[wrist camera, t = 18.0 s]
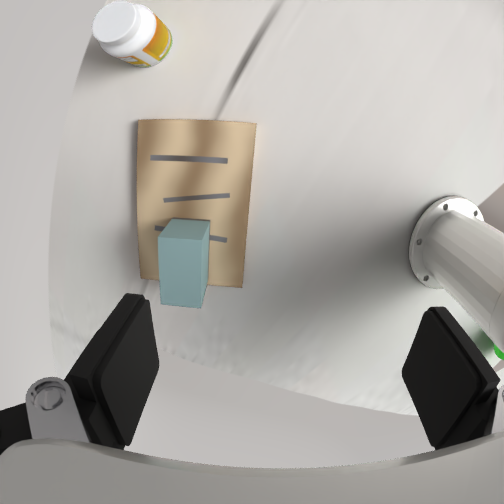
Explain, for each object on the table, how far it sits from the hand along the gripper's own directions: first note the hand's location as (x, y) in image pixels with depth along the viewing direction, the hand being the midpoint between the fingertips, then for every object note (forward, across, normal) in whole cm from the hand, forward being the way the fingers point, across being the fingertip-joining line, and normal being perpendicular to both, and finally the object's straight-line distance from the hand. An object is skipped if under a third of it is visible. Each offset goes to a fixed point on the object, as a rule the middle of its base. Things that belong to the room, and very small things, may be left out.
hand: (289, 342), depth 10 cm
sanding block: (+23, +8, +6) cm, 25 cm away
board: (+24, +8, +2) cm, 26 cm away
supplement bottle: (+24, +14, -16) cm, 32 cm away
